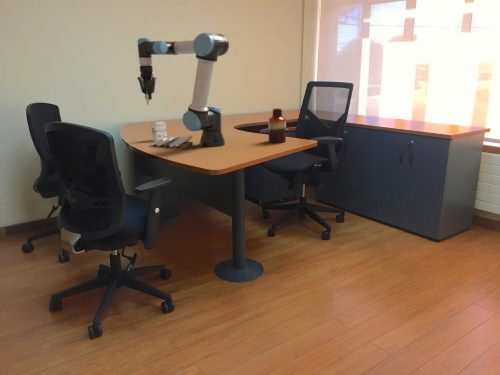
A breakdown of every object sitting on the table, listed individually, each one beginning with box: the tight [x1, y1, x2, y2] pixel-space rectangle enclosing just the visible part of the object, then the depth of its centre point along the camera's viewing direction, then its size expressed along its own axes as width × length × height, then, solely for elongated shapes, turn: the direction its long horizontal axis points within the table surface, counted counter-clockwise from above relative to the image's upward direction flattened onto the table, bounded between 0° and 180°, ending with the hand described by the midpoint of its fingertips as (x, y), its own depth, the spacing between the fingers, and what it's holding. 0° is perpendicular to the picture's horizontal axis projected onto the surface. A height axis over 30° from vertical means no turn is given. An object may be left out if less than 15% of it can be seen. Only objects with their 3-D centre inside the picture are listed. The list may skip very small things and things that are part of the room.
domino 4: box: [168, 135, 187, 148], centre depth 252 cm, size 2×5×10 cm
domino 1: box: [150, 136, 169, 147], centre depth 258 cm, size 2×5×10 cm
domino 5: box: [174, 135, 193, 148], centre depth 250 cm, size 2×5×10 cm
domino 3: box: [162, 136, 181, 148], centre depth 254 cm, size 2×5×10 cm
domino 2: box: [157, 136, 175, 147], centre depth 256 cm, size 2×5×10 cm
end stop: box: [179, 141, 194, 150], centre depth 250 cm, size 3×9×3 cm, turn 154°
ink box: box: [150, 121, 168, 142], centre depth 274 cm, size 9×5×12 cm, turn 141°
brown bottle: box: [268, 108, 287, 144], centre depth 263 cm, size 11×11×20 cm
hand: (149, 104), depth 262 cm, fingers closed
